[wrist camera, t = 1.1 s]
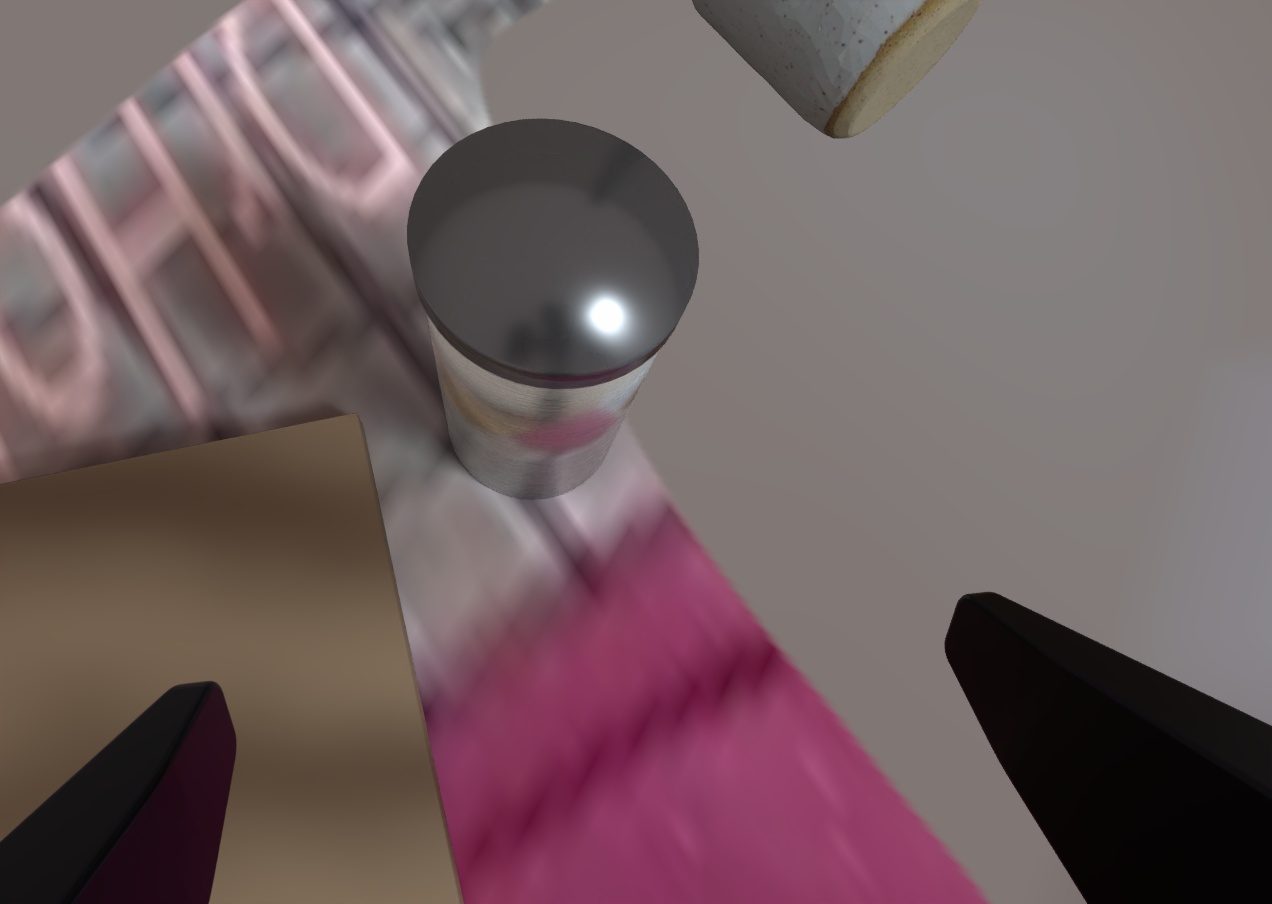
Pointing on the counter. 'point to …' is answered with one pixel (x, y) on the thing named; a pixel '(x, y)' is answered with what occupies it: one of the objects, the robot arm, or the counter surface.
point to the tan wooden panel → (231, 654)
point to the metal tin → (546, 294)
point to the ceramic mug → (840, 51)
